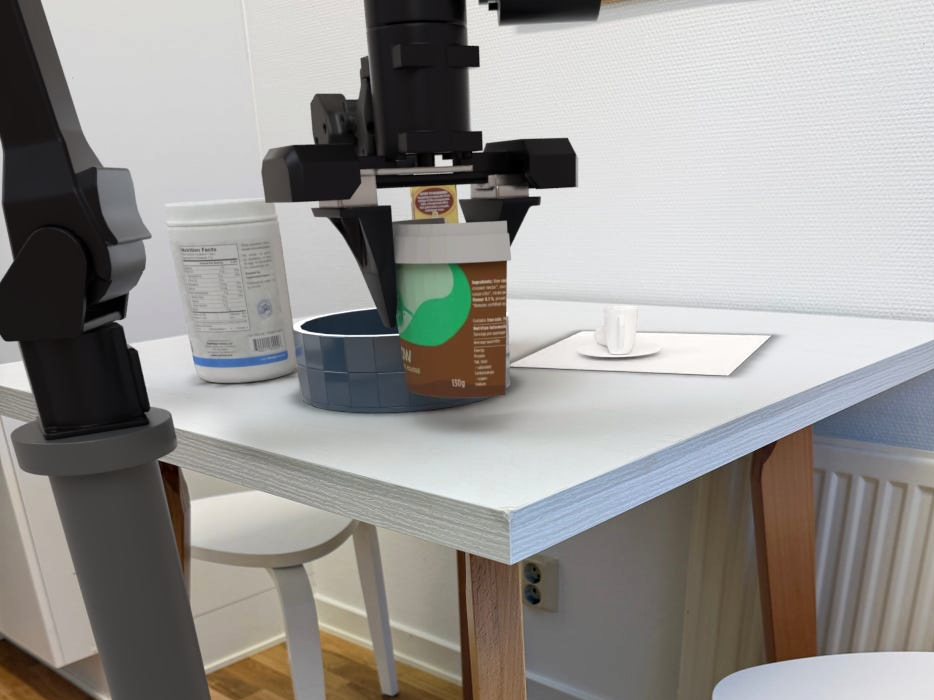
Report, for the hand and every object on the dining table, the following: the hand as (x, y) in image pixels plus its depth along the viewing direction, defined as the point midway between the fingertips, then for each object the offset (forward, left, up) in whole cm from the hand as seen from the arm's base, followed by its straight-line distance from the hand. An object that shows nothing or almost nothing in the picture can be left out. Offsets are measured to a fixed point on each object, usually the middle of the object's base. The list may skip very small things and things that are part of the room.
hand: (435, 321), depth 57 cm
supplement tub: (-5, +31, -7) cm, 32 cm away
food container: (0, 0, -4) cm, 4 cm away
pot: (+4, +15, -7) cm, 17 cm away
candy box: (+14, +28, -7) cm, 32 cm away
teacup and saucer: (+29, +15, -7) cm, 33 cm away
